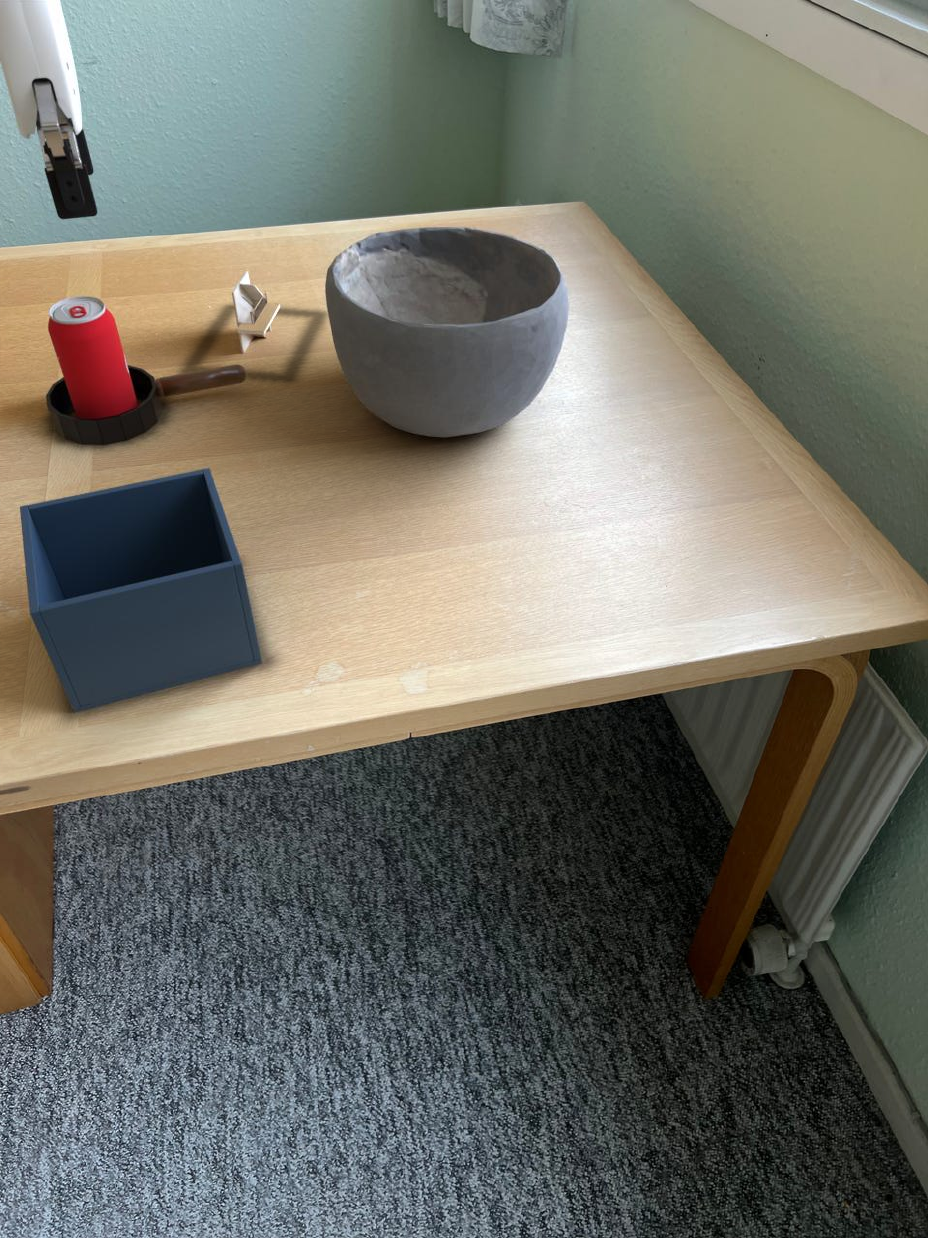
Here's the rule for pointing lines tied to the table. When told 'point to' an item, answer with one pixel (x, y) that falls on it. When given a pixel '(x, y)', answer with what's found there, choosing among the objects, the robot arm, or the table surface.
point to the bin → (137, 588)
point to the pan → (140, 416)
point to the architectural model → (252, 311)
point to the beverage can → (91, 357)
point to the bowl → (446, 326)
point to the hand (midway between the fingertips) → (77, 194)
